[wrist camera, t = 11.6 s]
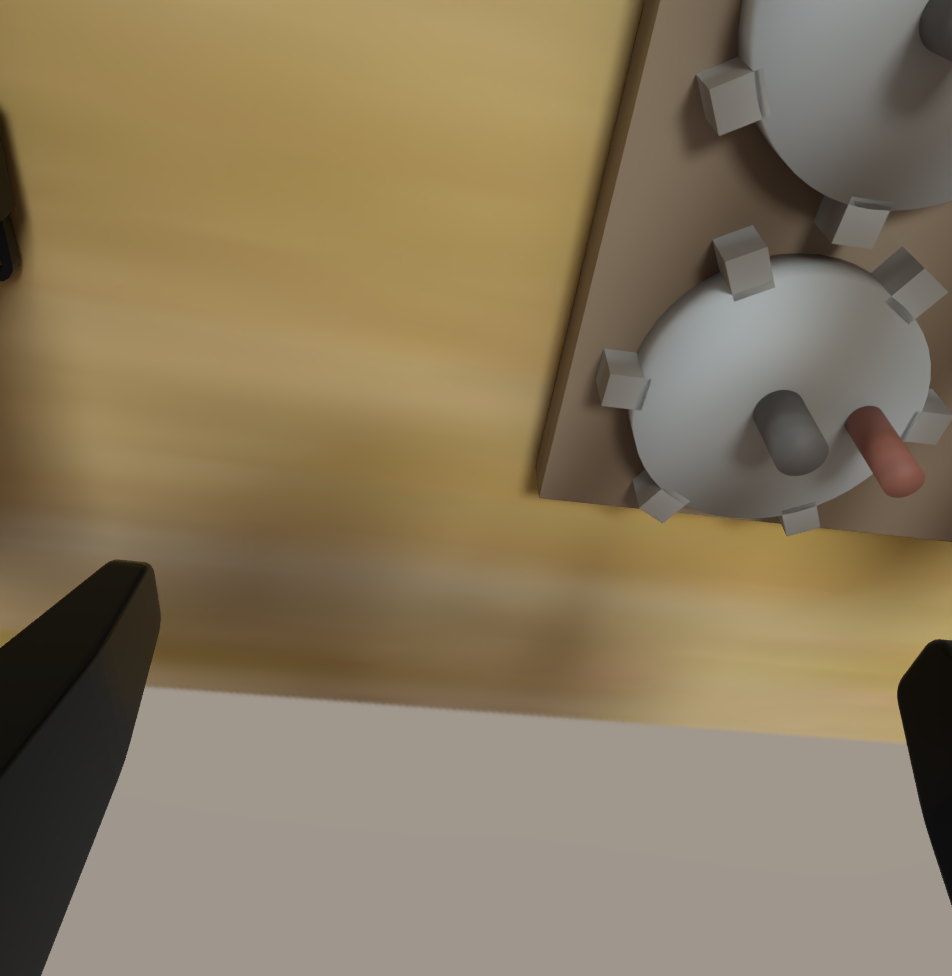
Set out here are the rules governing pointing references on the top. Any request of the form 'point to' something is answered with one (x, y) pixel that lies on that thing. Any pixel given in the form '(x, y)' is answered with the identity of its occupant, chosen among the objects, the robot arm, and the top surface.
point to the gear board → (770, 274)
